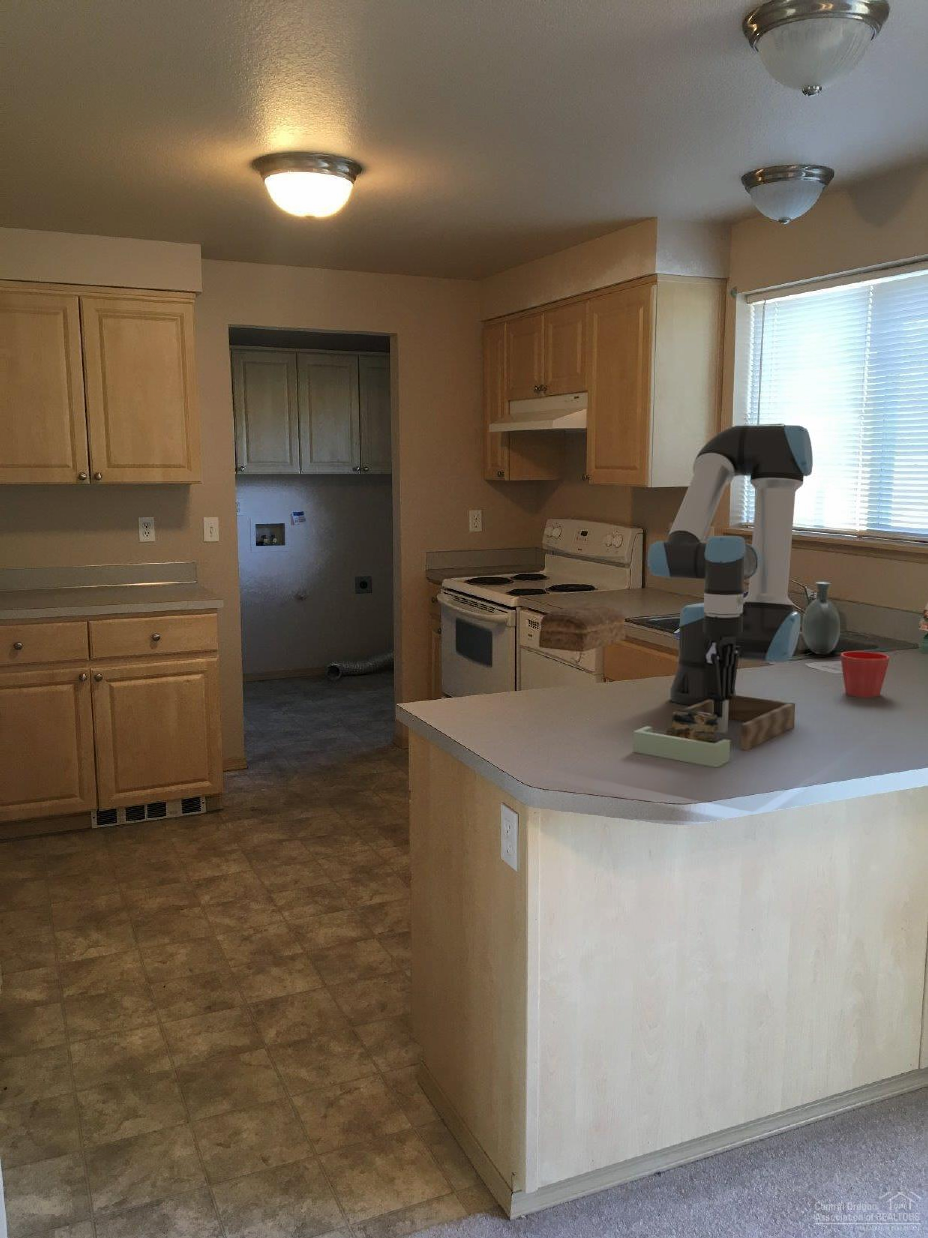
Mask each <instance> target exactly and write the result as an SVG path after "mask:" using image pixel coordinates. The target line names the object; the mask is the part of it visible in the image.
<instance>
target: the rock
mask: <svg viewBox="0 0 928 1238" xmlns="http://www.w3.org/2000/svg"><path fill="white" fill-rule="evenodd" d="M673 713H674V720H673V724H672V723H671V727H667V728H666V730H665V732H666V733H665V735H668V736H674V737H680V738H685V739H691V740H697V741H703V742H709V741H715V740H716V736H715V733H716V732H715V730H717V729H718V723H716V720H717V719H718V718H717V715H716V714H711V713H705V712H699V711H694V710H690V709H685V708H677V709H674V712H673Z"/></svg>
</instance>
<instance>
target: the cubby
mask: <svg viewBox="0 0 928 1238" xmlns="http://www.w3.org/2000/svg"><path fill="white" fill-rule="evenodd" d="M730 696H734V699H733V700H731V699H728V700H729V705H728V719H732V720H739V721H746V722H742V723H741V727H740V728H741V729H740V731H741V732H740V733H741V734H740V751H741V750H742V751H746V752H747V751H749V750H751V749H753V748H754V747H757V746H758V745H761V744H762V743H764V742H767V741H769V740H770V739H773V738H775V737H776V736H779V735H781V734H782V733H784V732H787V731H789V730H791V729H793V728H794V727H795V719H796V716H795V715H796V703H795V702H787V701H780V700H772V699H767V698H766V699H764V698H758V697H751V696H742V695H737V694H736V695H730ZM684 709H690V710H694V711H699V712H705V713H711V714H713V700H710V699H709V700H706V701H703V702H701V703H698V704H695V705H693V706H692V705H689V706H688V707H685V708H684ZM673 720H674V712H672V713H671V725H672V724H673Z"/></svg>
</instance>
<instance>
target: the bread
mask: <svg viewBox="0 0 928 1238" xmlns="http://www.w3.org/2000/svg"><path fill="white" fill-rule="evenodd" d="M625 622H626V618H625V616H624V614H623V612H622V611H621V610H620V609H618V607H616V606H611V605H609V604H597V603H591V602H586V603H583V604H578V605H575V606H570V607H569V606H568V607H564V608H560V609H557V610H553V611H552V610H551V611H550V612H548V613H546V614H545V615H544V616H543V617H542V618H541V621H540V630H539V636H538V647H539V648H543V649H552V650H560V651H570V652H581V653H582V652H586V651H587V652H588V651H590V650H594V649H597V648H601V647H604V646H607V645H611V644H615V643H617V642H621V641H624V640H625V639H626V636H627V630H626V626H625Z"/></svg>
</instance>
